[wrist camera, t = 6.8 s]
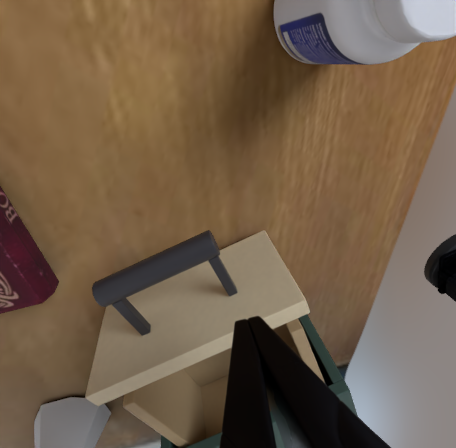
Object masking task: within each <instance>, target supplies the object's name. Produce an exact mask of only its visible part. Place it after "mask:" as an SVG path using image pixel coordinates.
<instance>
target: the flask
mask: <svg viewBox="0 0 456 448" xmlns="http://www.w3.org/2000/svg"><path fill="white" fill-rule="evenodd" d="M110 414H111V412H110V411H109V409H108V408H107V406H106V405H105V404H102V405H100V406H97V405H95V404H93V403H92V402H90V401H89V400H87V399H86V398H77V397H69V398H66V399H62V400H58V401H55V402H51V403H47V404H43V405H41V407H40V409H39V412H38V414H37V416H36V419H35V427H34V434H35V448H94V447H95V445H96V443H97V441H98V439H99V437H100V435H101V433H102V431H103V429H104V427H105V425H106V423H107V421H108V419H109V416H110Z"/></svg>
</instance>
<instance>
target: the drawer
mask: <svg viewBox="0 0 456 448" xmlns="http://www.w3.org/2000/svg"><path fill="white" fill-rule="evenodd" d="M92 291H93V296H94V298H95V300H96V302H97V303H98V304H99V305H100V306H102V307H106V309H105V313H104V318H103V322H102V326H101V330H100V335H99V339H98V343H97V348H96V352H95V356H94V360H93V365H92V369H91V373H90V378H89V382H88V386H87V391H86V395H85V398H86V399H87V400H89V401H90V402H92V403H93V404H95V405H97V406H100V405H102V404H104V403H107V402H109V401H111V400H113V399H116V398H118V397H120V396H122V395H124V400H123V408H125V409H126V410H127V411H129V412H130V413H132V414H133V415H134V416H136V417H137V418H139V419H140V420H141V421H143V422H144V423H146V424H147V425H148V426H150V427H151V428H153V429H154V430H155V431H157V432H158V433H160V434H161V435H162V436H164V437H165V438H167V439H168V440H169V441H171V442H172V443H174V444H175V445H177V446H178V447H179V448H186V447H188V446H190V445H192V444H195V443H197V442H199V441H202V440H204V439H206V438H209V437H211V436H213V435H216V434H218V433H220V432H221V431H222V423H223V415H224V407H225V398H226V390H227V382H228V374H229V365H230V357H231V349H232V341H233V332H234V324H235V321H237V320H241V319H248V318H250V317H254V316H260V317H261V318H262V319H263V320H264V321H265V322H266V323H267V324H268V325H269V326H270V327H271V328H272V329H273V330H274V331H275V332H276V333H277V334H278V335H279V336H280V337H281V338H282V340H283V341H284V342H285V343H286V344H287V345H288V346H289V347H290V348H291V349H292V350H293V351H294V352H295V353H296V354H297V355H298V356H299V357H300V358H301V359H302V360H303V361H304V362H305V363H306V364H307V365H308V366H309V367H310V368H311V369H312V370H313V371H314V373H315V374H316V375H317V376H318V377H319V378H320V379H321V380H322V381H323V382H324V379H323V377H322V374H321V372H320V369H319V367H318V364H317V362H316V359H315V357H314V354H313V352H312V349H311V347H310V344H309V342H308V339H307V337H306V334H305V332H304V329H303V327H302V325H301V323H300V321H299V319H298V318H299V317H301V316H304V315H306V314H308V313H310V310H309V307H308V304H307V301H306V299H305V297H304V296H303V294H302V292H301V291H300V289H299V287H298V286H297V284H296V282H295V281H294V279H293V277H292V275H291V274H290V272H289V270H288V269H287V267H286V265H285V264H284V262H283V260H282V259H281V257H280V255H279V254H278V252H277V250H276V248H275V247H274V245H273V243H272V242H271V240H270V238H269V237H268V235H267V233H266V232H265V230H263V231H261V232H259V233H257V234H255V235H252V236H250V237H248V238H246V239H244V240H241V241H239V242H237V243H235V244H233V245H230V246H228V247H226V248H224V249H222V250H219V248H218V245H217V243H216V241H215V239H214V237H213V235H212V233H211V232H210V231H209V230H208V231H205V232H203V233H201V234H199V235H197V236H195V237H192V238H190V239H188V240H186V241H184V242H181V243H179V244H177V245H175V246H173V247H171V248H168V249H166V250H164V251H162V252H160V253H158V254H155V255H153V256H151V257H149V258H147V259H144V260H142V261H140V262H138V263H136V264H134V265H131V266H129V267H127V268H125V269H123V270H121V271H118V272H116V273H114V274H112V275H110V276H107V277H105V278H103V279H101V280H99V281H97V282H95V283H94V284H93V287H92ZM324 383H325V382H324ZM269 408H270V406H269ZM270 411H271V408H270Z"/></svg>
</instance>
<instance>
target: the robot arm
mask: <svg viewBox="0 0 456 448" xmlns="http://www.w3.org/2000/svg"><path fill="white" fill-rule="evenodd" d="M438 292H439V293H441V294H445V293H446V294H447V295H448V296H450V297H451V298H452V299H453V300H454V301H456V249H455V250H452V251H450V252H448V253H446V254H443V255H442V256H441V257H440V259H439V275H438ZM269 406H270V408H271V411H272V414H273V416H274V419H275V421H276V424H277V427H278V429H279V432H280V434H281V437H282V440H283V442H284V445H285V447H286V448H391V447H390V446H389V445H387V444H386V443H385V442H384V441H383V440H382V439H381V438H380V437H379V436H378V435H376V434H375V433H374V432H373V431H372V430H371V429H370V428H369V427H368V426H367V425H366V424H365V423H364V422H363V421H362V420H361V419H360V418H359V417H358V416H356V415H355V414H354V413H353V412H352V411H351V409H350V408H349V407H348V406H347V405H346V404H345V403H344V402H343V401H340V399H339V397H338V396H337V395H336V394H335V393H334V392H333V391H332V390H331V389H330V388H329V387H328V386H327V385H326V384H325V383H324V382H323V381H322V380H321V379H320V378H319V377H318V376H317V375H316V374H315V373H314V371H313V370H312V369H311V368H310V367H309V366H308V365H307V364H306V363H305V362H304V361H303V360H302V359H301V358H300V357H299V356H298V355H297V354H296V353H295V352H294V351H293V350H292V349H291V348H290V347H289V346H288V345H287V344H286V343H285V342H284V341H283V340H282V338H281V337H280V336H279V335H278V334H277V333H276V332H275V331H274V330H273V329H272V328H271V327H270V326H269V325H268V324H267V323H266V322H265V321H264V320H263V319H262V318H261V317H260V316H254V317H250V318H248V319H241V320H237V321H235V324H234V332H233V341H232V349H231V357H230V365H229V374H228V382H227V390H226V398H225V407H224V415H223V423H222V431H221V432H222V434H221V438H220V446H219V448H277V446H276V441H275V435H274V430H273V424H272V419H271V414H270V408H269Z"/></svg>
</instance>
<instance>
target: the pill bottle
mask: <svg viewBox="0 0 456 448" xmlns="http://www.w3.org/2000/svg"><path fill="white" fill-rule="evenodd" d="M274 24H275V29H276V33H277V36H278V38H279V41H280V43H281V44H282V46H283V48H284V49H285V50H286V52H287V53H288V54H289V55H290V56H292V57H293V58H294V59H296V60H298V61H300V62H303V63H307V64H364V65H368V64H380V63H385V62H389V61H392V60H394V59H397V58H399V57H401V56H403V55H405V54H406V53H408V52H410V51H411V50H412V49H414V48H415V47H416V46H418V45H419V44H420V43H421V42H431V41H440V40H444V39H448V38H451V37H453V36H456V0H275V2H274Z"/></svg>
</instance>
